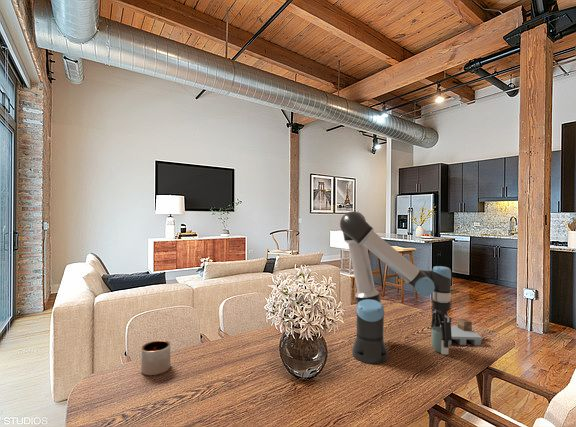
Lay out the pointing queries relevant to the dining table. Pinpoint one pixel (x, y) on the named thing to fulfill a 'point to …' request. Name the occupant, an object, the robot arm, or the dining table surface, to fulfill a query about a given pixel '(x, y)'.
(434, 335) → the cup
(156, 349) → the planter
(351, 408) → the dining table surface
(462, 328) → the block
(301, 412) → the dining table surface
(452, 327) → the dock
